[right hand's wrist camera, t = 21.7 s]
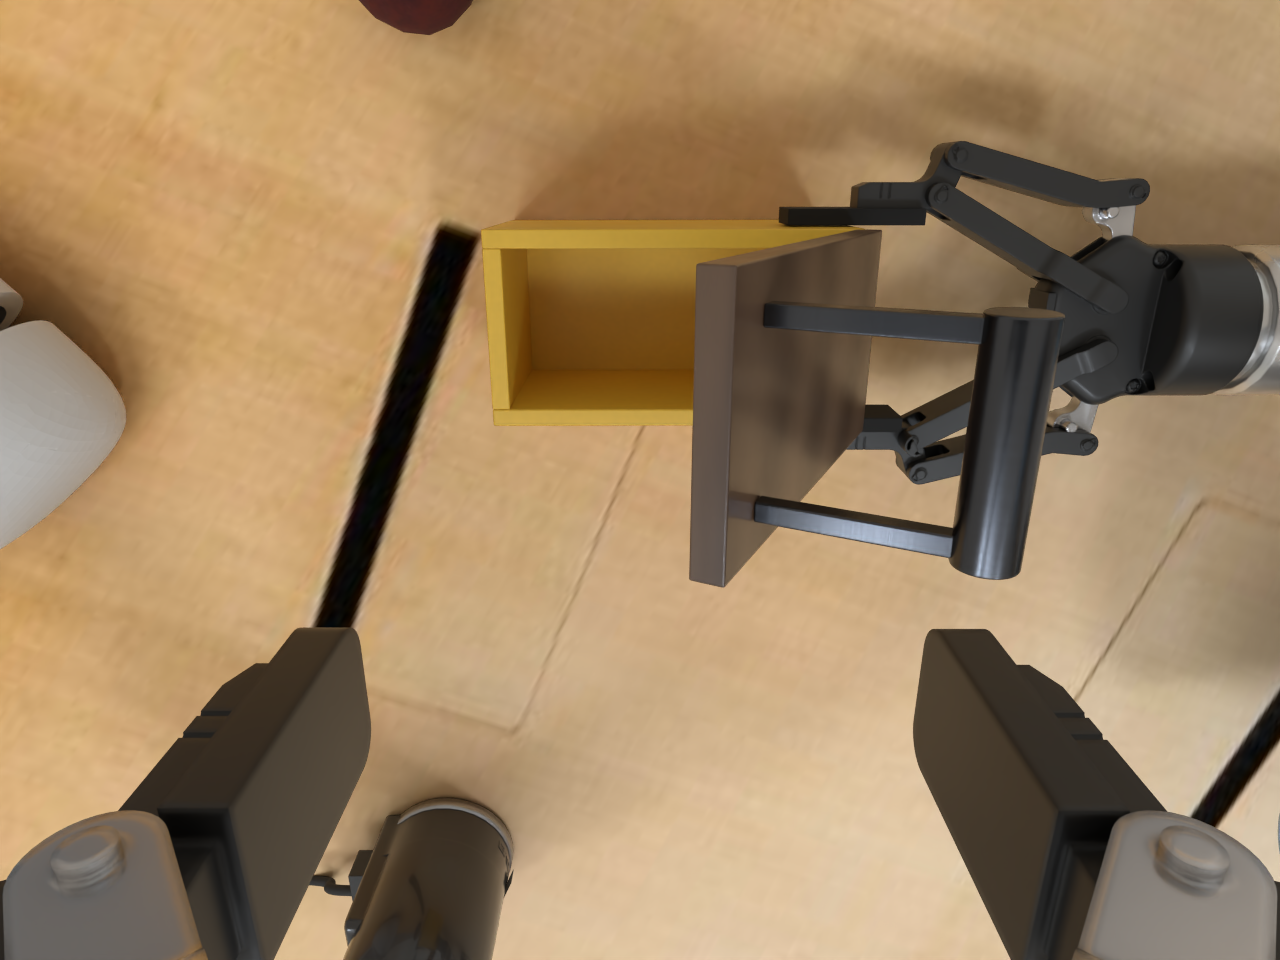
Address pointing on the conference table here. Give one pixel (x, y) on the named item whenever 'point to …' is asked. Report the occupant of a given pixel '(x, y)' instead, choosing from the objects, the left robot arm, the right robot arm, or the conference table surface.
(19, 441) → the grey piece
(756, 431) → the lid
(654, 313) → the chest
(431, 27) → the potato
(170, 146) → the conference table surface
